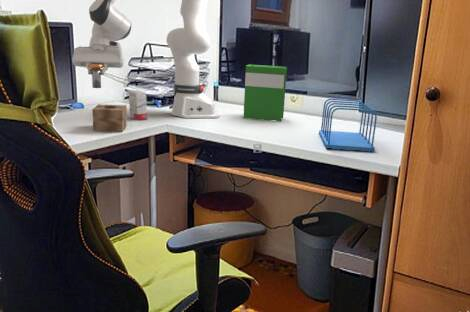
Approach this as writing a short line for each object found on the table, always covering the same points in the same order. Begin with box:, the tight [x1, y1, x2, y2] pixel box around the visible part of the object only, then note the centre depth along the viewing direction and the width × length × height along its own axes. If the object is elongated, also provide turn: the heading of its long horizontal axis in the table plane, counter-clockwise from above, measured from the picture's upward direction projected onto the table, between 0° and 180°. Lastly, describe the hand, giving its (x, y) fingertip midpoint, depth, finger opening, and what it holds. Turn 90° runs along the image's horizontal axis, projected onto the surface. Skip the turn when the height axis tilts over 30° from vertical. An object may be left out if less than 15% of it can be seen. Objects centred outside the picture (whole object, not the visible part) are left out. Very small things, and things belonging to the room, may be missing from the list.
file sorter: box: [318, 98, 378, 152], centre depth 179 cm, size 25×17×15 cm
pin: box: [89, 64, 104, 89], centre depth 191 cm, size 5×5×9 cm
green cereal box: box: [242, 64, 288, 122], centre depth 218 cm, size 18×7×24 cm, turn 77°
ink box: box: [128, 89, 148, 121], centre depth 206 cm, size 9×5×12 cm, turn 33°
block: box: [92, 104, 128, 133], centre depth 185 cm, size 11×11×8 cm
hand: (96, 73), depth 190 cm, fingers closed on pin, 3 cm apart
